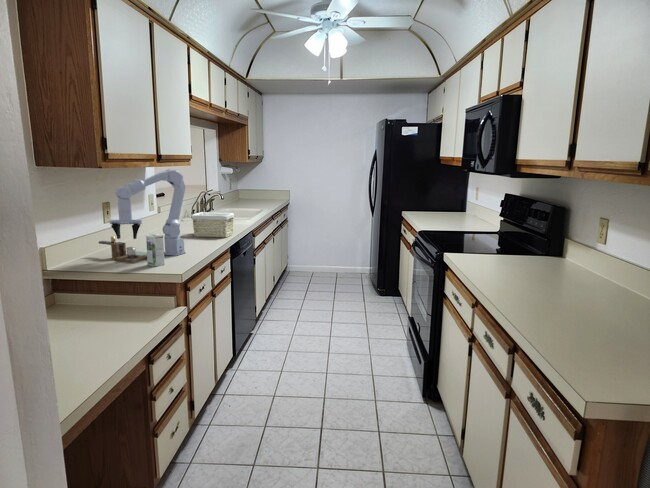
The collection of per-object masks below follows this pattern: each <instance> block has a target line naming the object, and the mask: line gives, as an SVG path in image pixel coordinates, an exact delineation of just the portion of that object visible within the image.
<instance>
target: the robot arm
mask: <svg viewBox="0 0 650 488" xmlns="http://www.w3.org/2000/svg"><path fill="white" fill-rule="evenodd" d="M161 181H166V182H168V183H169V184H170V185H171V186H172V188H173V194H172V198H171V204H170V208H169V213H168V218H167V219H166V220H165V224H164V225H163V226H162V233H163V240H164V256H165V255H166V256H167V255H168V256H174V257H177V256H180V255H183V254H186V251H185V241H184V239H183V238H182V237H180V233H181V229H180V227H181V224H180V216H181V211H182V206H183V201H184V196H185V192H186V184H185V181H184V176H183V175H182V173H181V172H180V171H179V170H177V169H166V170H161V171H160V172H157V173H154V175H151V176H149V177H147V178H145V179H143V180H142V179H134V180H133V181H132V182H130V183H124V186H122V185H121V186H119V187H117V189H116V190H115V192H114V193H115V195H116V197H117V209H118V219H109V225H110V226H111V228H112V230H113V232H114V233H115V235H116V236H115V237H116V238H117V240H120V239H121V225H131V228H132V236H133V237H132V238H133V240H136V239H137V237H138V232H139V229H140V227H141V225H142V224H143V223H142V219H133V218H132V217H133V214H132V202H131V198H132V196H134V195H137V194H139V193H141V192H143V191H145V190H146V187H149V186H151V185H153V184H155V183H158V182H161Z"/></svg>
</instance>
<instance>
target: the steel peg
mask: <svg viewBox="0 0 650 488" xmlns="http://www.w3.org/2000/svg"><path fill="white" fill-rule="evenodd" d="M136 252H137V251H136V247H135V246H128V247H127V246H126V254H127V258H129V259H133V258H136Z"/></svg>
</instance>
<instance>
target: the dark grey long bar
mask: <svg viewBox="0 0 650 488" xmlns="http://www.w3.org/2000/svg"><path fill="white" fill-rule="evenodd" d="M112 243H113V244H119V246H122V245H124V243H125V242H123V243H118V242H117V241H116V236H114V235H113V236H110V241H107V240H100V241H98V244H99V245H100V244H101V245H108V246H111V244H112Z"/></svg>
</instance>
